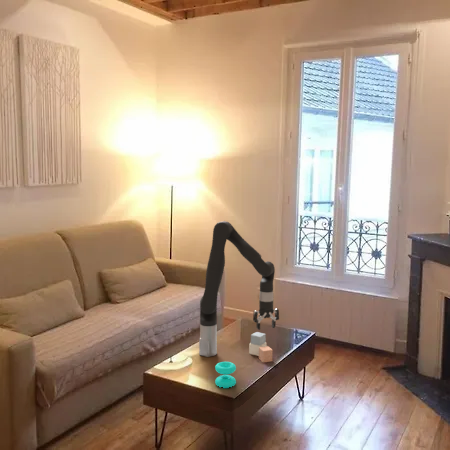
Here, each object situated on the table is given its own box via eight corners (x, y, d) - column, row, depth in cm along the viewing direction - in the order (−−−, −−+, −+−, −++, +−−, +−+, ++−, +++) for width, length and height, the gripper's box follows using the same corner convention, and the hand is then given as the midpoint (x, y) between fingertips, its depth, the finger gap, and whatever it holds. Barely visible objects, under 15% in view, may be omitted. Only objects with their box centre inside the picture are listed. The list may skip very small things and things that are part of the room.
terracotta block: (263, 362, 262) (263, 351, 261) (258, 358, 267) (259, 347, 267) (272, 361, 264) (272, 349, 263) (268, 357, 269) (268, 346, 268)
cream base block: (259, 356, 271) (260, 346, 270) (249, 353, 275) (249, 343, 274) (266, 352, 276) (266, 342, 275) (255, 349, 280) (255, 339, 280)
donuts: (219, 359, 241) (238, 362, 238) (219, 378, 242) (238, 382, 239) (211, 367, 232) (231, 370, 228) (211, 387, 233) (231, 390, 230)
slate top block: (260, 345, 270) (260, 337, 270) (250, 343, 274) (250, 334, 273) (265, 342, 275) (265, 333, 275) (256, 340, 279) (256, 331, 278)
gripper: (256, 302, 256) (256, 332, 258) (281, 299, 261) (281, 329, 263) (251, 298, 263) (251, 327, 265) (275, 296, 268) (274, 324, 270)
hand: (266, 328), depth 264 cm, fingers open, 8 cm apart
